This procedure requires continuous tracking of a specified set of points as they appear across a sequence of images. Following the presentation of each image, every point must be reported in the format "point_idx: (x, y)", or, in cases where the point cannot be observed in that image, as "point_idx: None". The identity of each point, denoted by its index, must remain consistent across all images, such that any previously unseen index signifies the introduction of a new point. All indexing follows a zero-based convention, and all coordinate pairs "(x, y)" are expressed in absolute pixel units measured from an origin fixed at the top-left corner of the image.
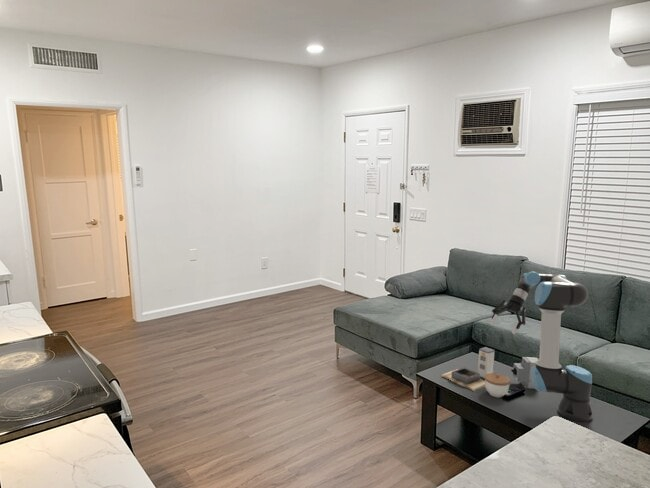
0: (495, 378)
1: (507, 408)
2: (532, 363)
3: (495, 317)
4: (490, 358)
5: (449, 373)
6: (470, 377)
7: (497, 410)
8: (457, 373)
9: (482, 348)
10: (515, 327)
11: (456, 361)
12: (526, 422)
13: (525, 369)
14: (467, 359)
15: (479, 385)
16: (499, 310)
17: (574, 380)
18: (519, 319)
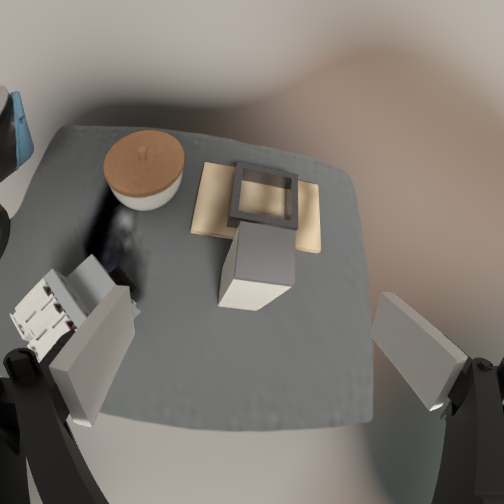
0: (146, 149)
1: (103, 149)
2: (38, 286)
3: (426, 353)
4: (231, 258)
5: (311, 204)
6: (235, 172)
7: (120, 128)
8: (278, 172)
9: (290, 249)
10: (89, 317)
11: (365, 319)
12: (63, 132)
13: (71, 275)
14: (356, 366)
15: (204, 190)
16: (493, 413)
17: None
18: (27, 417)
